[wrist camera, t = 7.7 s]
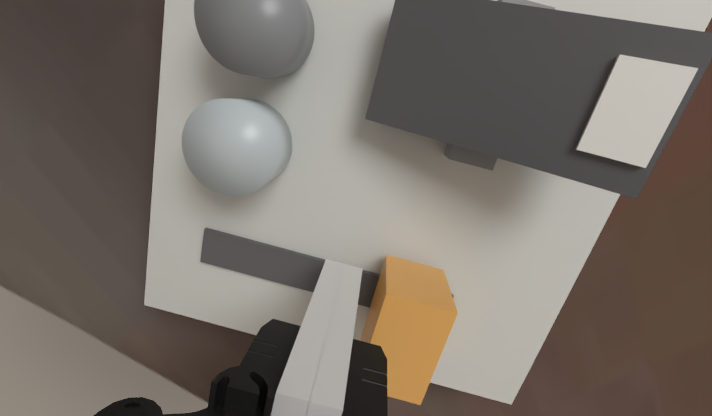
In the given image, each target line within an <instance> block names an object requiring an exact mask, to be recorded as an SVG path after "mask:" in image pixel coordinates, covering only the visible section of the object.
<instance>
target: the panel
mask: <svg viewBox="0 0 712 416" xmlns="http://www.w3.org/2000/svg"><path fill="white" fill-rule="evenodd" d="M306 1H307V3H308V5H309V7H310V10H311V13H312V16H313V20H314V42H313V45H312V49H311V51H310V54H309V56H308V58H307V59H306V61H305V62H304V63H303V65H302V66H301V67H300V68H299V69H298V70H296V71H295V72H294V73H292V74H290V75H288V76H285V77H282V78H277V79H267V78H261V77H255V76H249V75H244V74H239V73H236V72H233V71H231V70H229V69H227V68H225V67H224V66H222V65H221V64H219V63H218V62H217V61H216V60H215V59H214V58H213V57H212V56H211V55H210V54H209V52H208V51H207V50H206V48H205V47H204V45H203V43H202V41H201V39H200V37H199V34H198V31H197V28H196V24H195V19H194V0H165V10H164V24H163V39H162V54H161V68H160V83H159V97H158V112H157V127H156V141H155V156H154V170H153V185H152V200H151V214H150V229H149V243H148V258H147V273H146V287H145V302H144V305H146V306H150V307H154V308H157V309H161V310H165V311H168V312H172V313H176V314H180V315H183V316H187V317H191V318H194V319H198V320H202V321H205V322H209V323H213V324H216V325H220V326H224V327H227V328H231V329H235V330H239V331H242V332H246V333H250V334H253V335H257V333H258V332H259V330H260V328H261V327H262V326H263V325H265V324H266V323H268V322H269V321H270V320H272V319H276V320H280V321H283V322H287V323H291V324H295V325H299V326H301V324H302V322H303V319H304V316H305V314H306V311H307V308H308V306H309V303H310V300H311V298H312V295H313V292H314V290H315V287H316V284H317V282H318V279H319V276H320V274H321V271H322V268H323V266H324V263H325V260H326V259H328V260H332V261H336V262H340V263H344V264H347V265H351V266H355V267H359V268H362V269H363V270H362V277H361V284H360V292H359V299H358V306H357V313H356V321H355V328H354V335H353V339H356V340H360V341H361V336H362V331H363V328H364V325H365V322H366V319H367V315H368V312H369V309H370V306H371V302H372V299H373V296H374V293H375V290H376V286H377V283H378V280H379V277H380V274H381V270H382V267H383V264H384V261H385V257H386V254H387V255H390V256H394V257H398V258H401V259H405V260H409V261H413V262H416V263H420V264H424V265H427V266H431V267H435V268H439V269H442V270H444V273H445V276H446V279H447V282H448V285H449V288H450V291H451V294H452V297H453V300H454V303H455V306H456V309H457V312H458V314H457V317H456V319H455V322H454V324H453V327H452V329H451V332H450V334H449V336H448V339H447V341H446V344H445V346H444V349H443V351H442V354H441V356H440V359H439V361H438V363H437V366H436V368H435V371H434V373H433V376H432V378H431V381H430V383H434V384H438V385H441V386H445V387H449V388H452V389H456V390H460V391H463V392H467V393H471V394H475V395H478V396H482V397H486V398H489V399H493V400H497V401H500V402H504V403H508V404H511V405H512V403H513V401H514V399H515V397H516V395H517V393H518V391H519V389H520V387H521V385H522V383H523V381H524V379H525V377H526V376H527V374H528V372H529V370H530V368H531V366H532V364H533V362H534V360H535V358H536V356H537V354H538V352H539V350H540V348H541V347H542V345H543V343H544V341H545V339H546V337H547V335H548V333H549V331H550V329H551V327H552V325H553V323H554V321H555V319H556V317H557V316H558V314H559V312H560V310H561V308H562V306H563V304H564V302H565V300H566V298H567V296H568V294H569V292H570V290H571V288H572V287H573V285H574V283H575V281H576V279H577V277H578V275H579V273H580V271H581V269H582V267H583V265H584V263H585V261H586V259H587V258H588V256H589V254H590V252H591V250H592V248H593V246H594V244H595V242H596V240H597V238H598V236H599V234H600V232H601V230H602V229H603V227H604V225H605V223H606V221H607V219H608V217H609V215H610V213H611V211H612V209H613V207H614V205H615V203H616V201H617V199H618V198H619V196H620V194H618V193H614V192H611V191H608V190H604V189H601V188H597V187H594V186H591V185H587V184H584V183H580V182H577V181H574V180H570V179H567V178H564V177H560V176H557V175H553V174H550V173H547V172H543V171H540V170H536V169H533V168H530V167H526V166H523V165H519V164H516V163H513V162H509V161H506V160H503V159H499V158H496V157H492V156H489V155H486V154H482V153H479V152H475V151H472V150H469V149H465V148H462V147H458V146H455V145H452V144H448V143H445V142H441V141H438V140H435V139H431V138H428V137H425V136H421V135H418V134H414V133H411V132H408V131H404V130H401V129H397V128H394V127H391V126H387V125H384V124H380V123H377V122H374V121H370V120H367V119H365V117H366V113H367V109H368V105H369V101H370V97H371V93H372V89H373V85H374V81H375V77H376V74H377V70H378V66H379V62H380V58H381V54H382V50H383V46H384V42H385V38H386V34H387V30H388V26H389V22H390V18H391V15H392V11H393V7H394V3H395V0H306ZM493 1H500V2H507V3H513V4H520V5H527V6H534V7H541V8H547V9H554V10H561V11H568V12H574V13H581V14H588V15H595V16H601V17H608V18H615V19H622V20H628V21H635V22H642V23H649V24H655V25H662V26H669V27H676V28H682V29H689V30H696V31H703V32H704V31H705V29H706V27H707V25H708V23H709V22H710V20H711V18H712V0H493ZM222 98H230V99H256V100H260V101H263V102H265V103H267V104H269V105H270V106H272V107H273V108H275V109H276V110H277V111H278V112H279V113H280V114H281V115H282V117H283V118H284V119H285V121H286V123H287V125H288V127H289V129H290V132H291V136H292V154H291V158H290V161H289V163H288V165H287V166H286V168H285V169H284V171H283V172H282V173H281V174H280V175H278V176H277V177H276V178H274V179H273V180H271V181H270V182H268V183H267V184H266V185H264V186H263V187H261V188H260V189H258V190H257V191H255V192H253V193H251V194H248V195H245V196H238V197H232V196H225V195H221V194H218V193H216V192H213V191H211V190H210V189H208V188H207V187H205V186H204V185H203V184H201V183H200V182H199V181H198V180H197V179H196V178H195V176H194V175H193V174H192V172H191V171H190V169H189V168H188V166H187V164H186V161H185V158H184V155H183V151H182V132H183V128H184V125H185V123H186V121H187V119H188V117H189V116H190V114H191V113H192V112H193V111H194V110H195V109H196V108H197V107H198V106H200V105H202V104H203V103H205V102H208V101H210V100H214V99H222Z"/></svg>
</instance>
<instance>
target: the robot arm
mask: <svg viewBox="0 0 712 416" xmlns="http://www.w3.org/2000/svg"><path fill="white" fill-rule="evenodd" d="M362 270H363V269H362V268H359V267H355V266H351V265H347V264H344V263H340V262H336V261H332V260H328V259H326V260H325V263H324V266H323V268H322V271H321V274H320V276H319V279H318V282H317V284H316V287H315V290H314V292H313V295H312V298H311V300H310V303H309V306H308V308H307V311H306V314H305V316H304V319H303V322H302V324H301V326H299V325H295V324H291V323H287V322H283V321H280V320H276V319H272V320H270V321H269V322H268V323H266V324H265V325H263V326H262V327H261V328H260V330H259V332H258V333H257V335H256V337H255V339H254V342H253V343H252V344H251V346H250V348H249V350H248V352H247V354H246V355H245V357H244V359H243V361H242V363H241V365H240V366H238V367H232V368H229V369H227V370H225V371H223V372H221V373H220V374H219V375H218V376H217V377H216V378H215V379H214V380H213V381H212V383H211V390H210V396H209V403H208V408H206V409H203V410H200V411H198V412H192V413H185V414H166V415H163V414H162V410H161V408H160V406H158V405H157V404H156V403H155V402H154V401H152V400H149V399H146V398H143V397H140V398H127V399H123V400H120V401H117V402H114V403H112V404H111V405H109V406H107V407H106V408H104V409H102V410H101V411H99V412H98V413H97V414H95V415H94V416H387V358H386V356H385V354H384V352H383V350H382V348H381V346H378V345H375V344H371V343H367V342H363V341H360V340H356V339H353V335H354V328H355V321H356V313H357V306H358V299H359V292H360V284H361V277H362Z"/></svg>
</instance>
